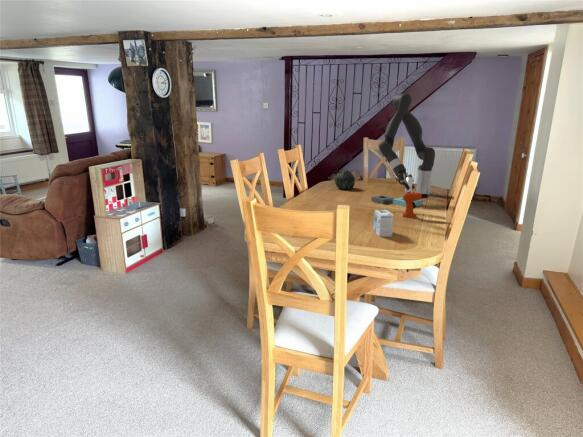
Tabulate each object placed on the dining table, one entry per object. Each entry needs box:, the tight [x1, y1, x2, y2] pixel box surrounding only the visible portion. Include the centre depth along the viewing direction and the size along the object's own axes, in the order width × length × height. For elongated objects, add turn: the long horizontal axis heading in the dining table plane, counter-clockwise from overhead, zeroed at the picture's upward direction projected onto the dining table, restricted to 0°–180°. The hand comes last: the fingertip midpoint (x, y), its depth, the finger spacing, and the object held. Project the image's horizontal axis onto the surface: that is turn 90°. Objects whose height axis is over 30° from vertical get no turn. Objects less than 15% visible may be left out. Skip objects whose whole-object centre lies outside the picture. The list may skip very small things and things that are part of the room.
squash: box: [334, 170, 356, 191], centre depth 306 cm, size 14×15×15 cm
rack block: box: [392, 196, 424, 208], centre depth 261 cm, size 13×13×3 cm
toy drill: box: [402, 191, 438, 219], centre depth 229 cm, size 5×19×15 cm, turn 75°
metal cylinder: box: [404, 176, 414, 194], centre depth 259 cm, size 4×4×14 cm
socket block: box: [370, 194, 395, 205], centre depth 268 cm, size 10×10×3 cm
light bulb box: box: [373, 209, 395, 238], centre depth 201 cm, size 11×7×11 cm, turn 5°
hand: (411, 188), depth 257 cm, fingers closed on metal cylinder, 4 cm apart
